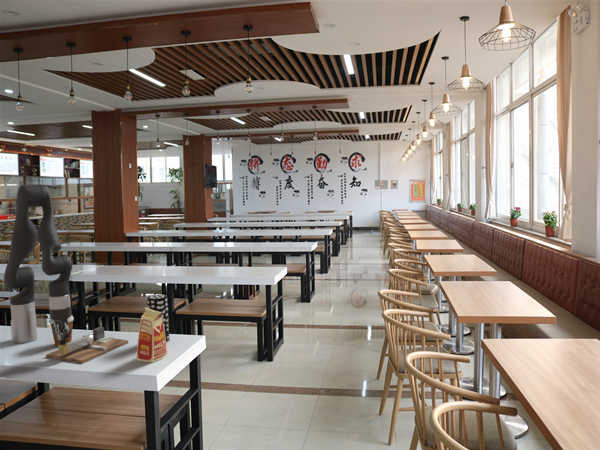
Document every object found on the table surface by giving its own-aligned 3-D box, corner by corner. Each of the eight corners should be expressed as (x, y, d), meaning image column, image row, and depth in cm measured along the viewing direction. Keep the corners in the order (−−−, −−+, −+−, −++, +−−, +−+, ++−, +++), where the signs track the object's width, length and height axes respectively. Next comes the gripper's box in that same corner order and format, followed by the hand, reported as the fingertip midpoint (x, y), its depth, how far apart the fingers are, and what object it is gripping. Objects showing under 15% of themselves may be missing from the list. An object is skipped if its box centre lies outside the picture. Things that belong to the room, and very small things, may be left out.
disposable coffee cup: (76, 344, 195) (75, 317, 194) (52, 349, 190) (50, 321, 189) (73, 338, 203) (72, 312, 202) (49, 343, 197) (47, 316, 196)
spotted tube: (163, 345, 192) (161, 299, 190) (145, 344, 193) (143, 298, 191) (172, 338, 200) (170, 294, 198) (155, 337, 201) (153, 294, 200)
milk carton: (136, 360, 175) (133, 310, 173) (151, 352, 184) (149, 304, 182) (155, 363, 172) (152, 312, 170) (170, 354, 181) (167, 305, 179)
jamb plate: (46, 357, 181) (45, 342, 180) (93, 338, 203) (92, 325, 202) (83, 363, 173) (82, 348, 173) (128, 342, 195) (127, 329, 195)
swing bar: (88, 341, 190) (88, 333, 190) (95, 342, 189) (95, 334, 189) (57, 354, 176) (57, 345, 176) (65, 355, 175) (64, 346, 175)
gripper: (42, 305, 180) (45, 347, 181) (57, 311, 172) (60, 354, 173) (62, 301, 186) (65, 342, 187) (77, 306, 177) (80, 349, 179)
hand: (62, 348), depth 180 cm, fingers closed
